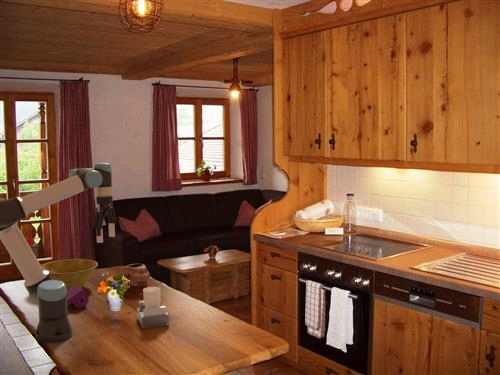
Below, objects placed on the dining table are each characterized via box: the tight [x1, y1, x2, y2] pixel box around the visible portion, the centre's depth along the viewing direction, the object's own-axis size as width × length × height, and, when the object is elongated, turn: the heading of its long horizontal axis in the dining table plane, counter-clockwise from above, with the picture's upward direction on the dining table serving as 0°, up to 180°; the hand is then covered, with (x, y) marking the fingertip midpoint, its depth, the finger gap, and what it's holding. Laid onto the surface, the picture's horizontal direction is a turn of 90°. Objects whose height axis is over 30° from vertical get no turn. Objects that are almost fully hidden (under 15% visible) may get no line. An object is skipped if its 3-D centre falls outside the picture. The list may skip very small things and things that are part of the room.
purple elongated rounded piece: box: [67, 285, 89, 309], centre depth 271 cm, size 9×8×18 cm
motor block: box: [136, 298, 170, 330], centre depth 249 cm, size 14×12×8 cm
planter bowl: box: [40, 258, 99, 291], centre depth 302 cm, size 32×32×13 cm
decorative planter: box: [123, 263, 151, 292], centre depth 300 cm, size 20×12×14 cm, turn 54°
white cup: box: [142, 286, 161, 309], centre depth 248 cm, size 8×8×10 cm
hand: (106, 239), depth 257 cm, fingers open, 13 cm apart
